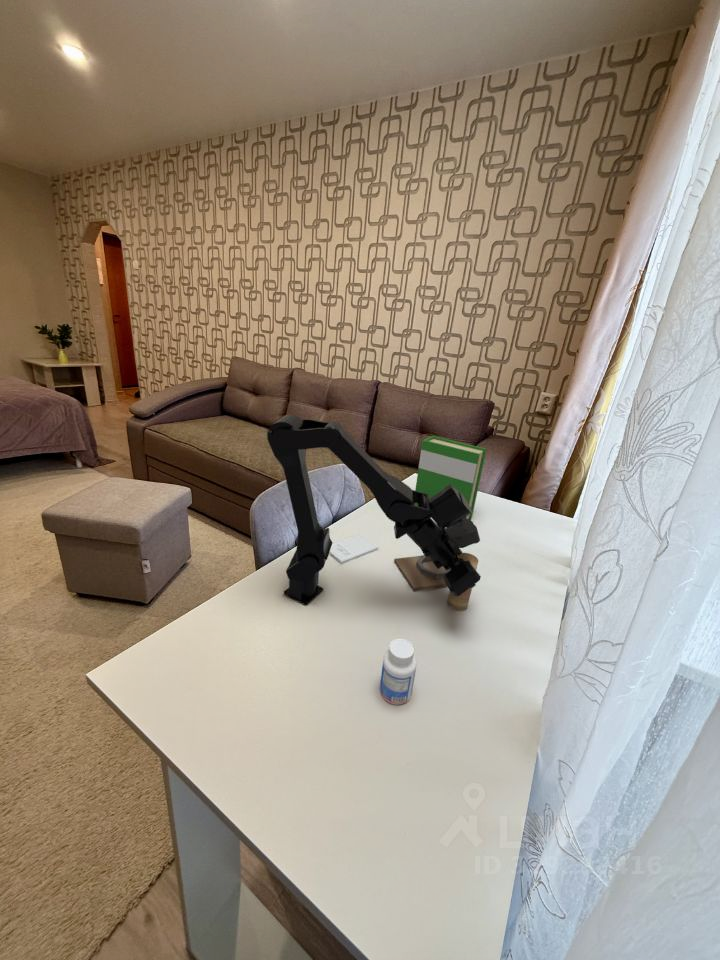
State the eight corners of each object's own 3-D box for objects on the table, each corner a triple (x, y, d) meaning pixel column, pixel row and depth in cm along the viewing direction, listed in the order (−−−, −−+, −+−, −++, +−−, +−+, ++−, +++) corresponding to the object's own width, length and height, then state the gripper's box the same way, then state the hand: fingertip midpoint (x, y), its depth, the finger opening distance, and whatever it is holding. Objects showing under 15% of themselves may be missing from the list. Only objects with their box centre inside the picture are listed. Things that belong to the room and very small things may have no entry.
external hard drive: (377, 551, 106) (341, 566, 99) (358, 538, 112) (322, 551, 104) (378, 546, 106) (341, 561, 98) (359, 533, 111) (322, 545, 104)
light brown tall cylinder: (464, 613, 85) (475, 567, 81) (445, 605, 87) (454, 559, 82) (470, 602, 89) (480, 557, 84) (451, 594, 91) (460, 550, 86)
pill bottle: (391, 672, 70) (398, 629, 66) (417, 690, 67) (425, 646, 63) (372, 692, 66) (378, 647, 62) (399, 712, 63) (407, 667, 59)
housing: (413, 591, 91) (414, 582, 90) (394, 562, 101) (395, 553, 100) (473, 583, 96) (475, 574, 95) (448, 555, 106) (450, 547, 105)
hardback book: (471, 519, 127) (486, 448, 118) (463, 528, 121) (478, 454, 112) (421, 502, 136) (432, 435, 126) (412, 510, 130) (422, 440, 120)
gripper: (480, 535, 70) (522, 584, 76) (443, 491, 87) (479, 534, 93) (431, 573, 71) (476, 618, 78) (404, 523, 88) (442, 562, 95)
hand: (469, 579), depth 86 cm, fingers closed on light brown tall cylinder, 4 cm apart
